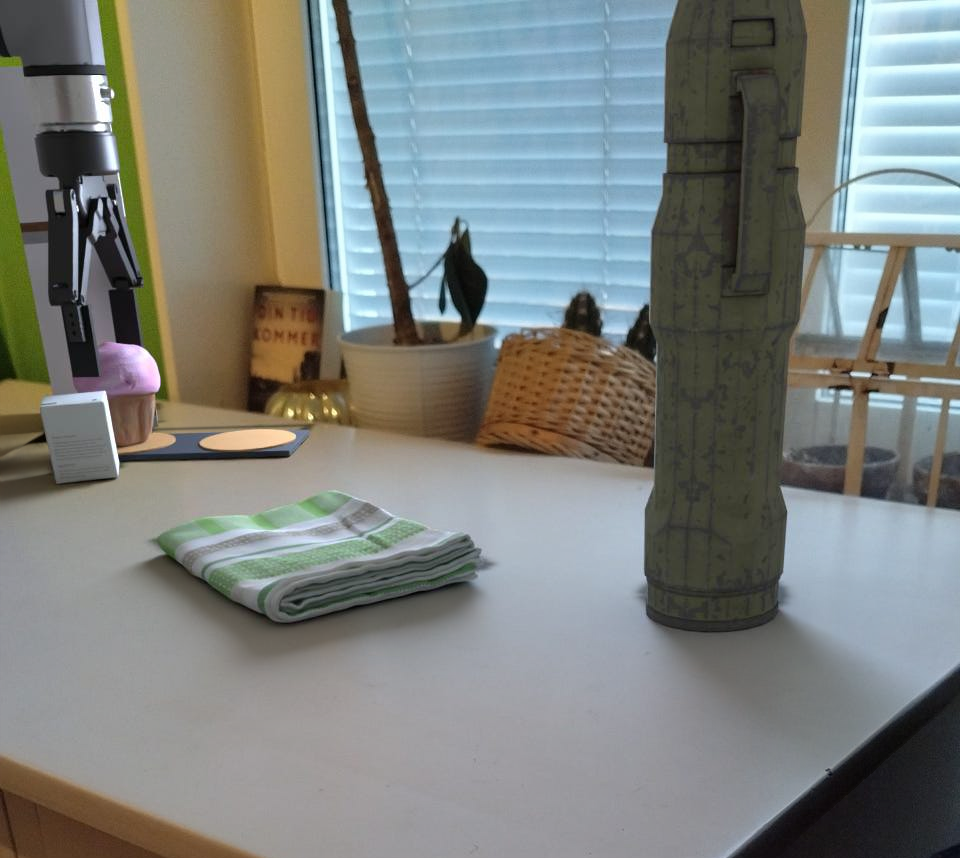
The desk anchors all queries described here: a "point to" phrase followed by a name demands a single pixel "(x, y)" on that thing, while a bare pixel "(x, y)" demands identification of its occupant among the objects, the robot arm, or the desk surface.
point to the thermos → (724, 311)
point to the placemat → (215, 445)
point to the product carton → (80, 436)
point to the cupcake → (126, 390)
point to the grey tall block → (8, 105)
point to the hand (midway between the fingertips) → (110, 366)
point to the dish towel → (319, 556)
